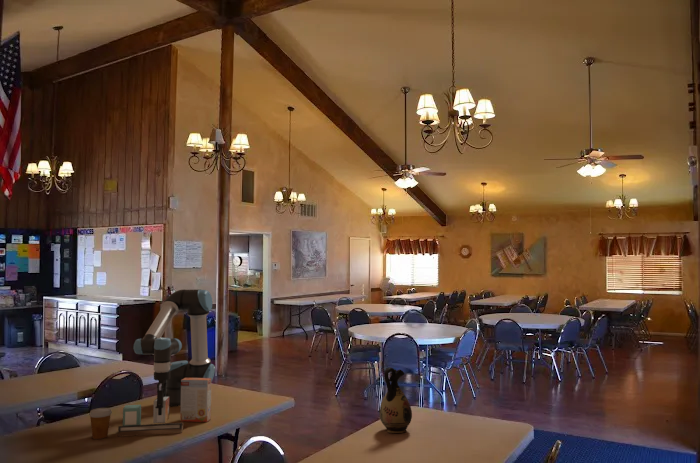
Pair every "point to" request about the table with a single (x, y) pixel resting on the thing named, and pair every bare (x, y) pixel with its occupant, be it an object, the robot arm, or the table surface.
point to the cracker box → (195, 399)
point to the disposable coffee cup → (100, 422)
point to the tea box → (131, 415)
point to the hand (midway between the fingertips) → (161, 419)
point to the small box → (165, 410)
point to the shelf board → (150, 429)
